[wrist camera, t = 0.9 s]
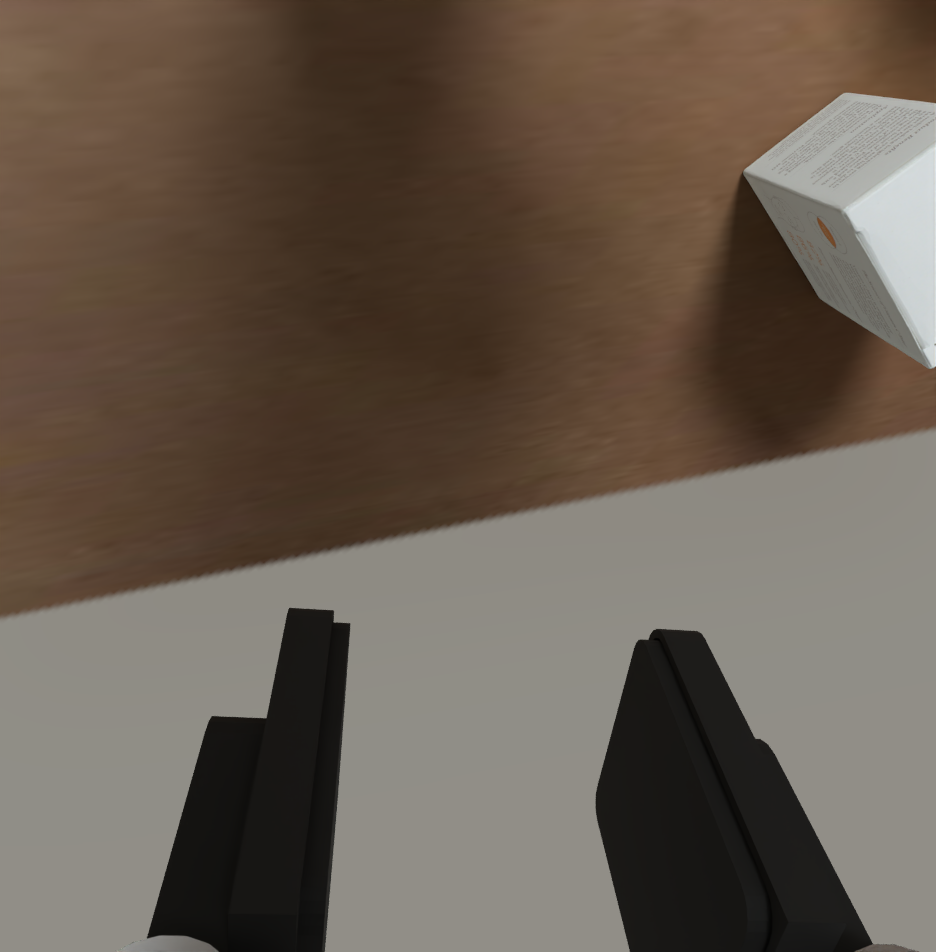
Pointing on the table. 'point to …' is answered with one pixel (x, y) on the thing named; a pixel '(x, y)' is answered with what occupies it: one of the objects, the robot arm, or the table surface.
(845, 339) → the table surface
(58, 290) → the table surface
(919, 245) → the small box
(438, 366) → the table surface
